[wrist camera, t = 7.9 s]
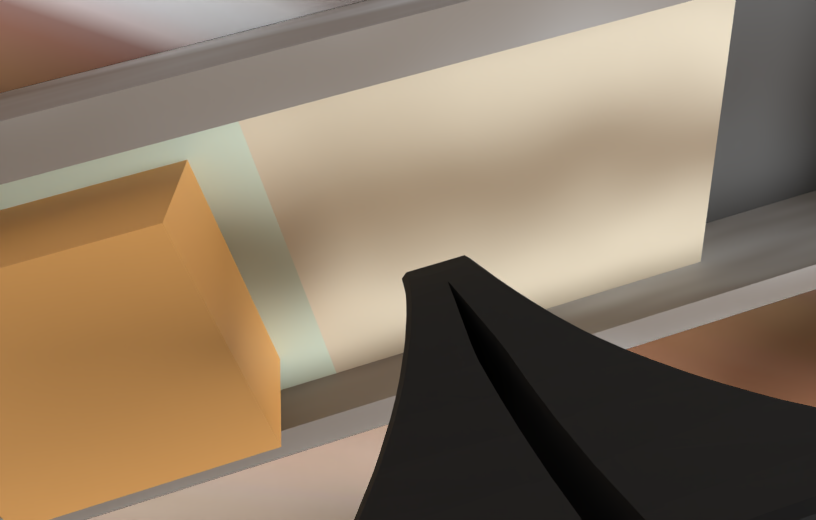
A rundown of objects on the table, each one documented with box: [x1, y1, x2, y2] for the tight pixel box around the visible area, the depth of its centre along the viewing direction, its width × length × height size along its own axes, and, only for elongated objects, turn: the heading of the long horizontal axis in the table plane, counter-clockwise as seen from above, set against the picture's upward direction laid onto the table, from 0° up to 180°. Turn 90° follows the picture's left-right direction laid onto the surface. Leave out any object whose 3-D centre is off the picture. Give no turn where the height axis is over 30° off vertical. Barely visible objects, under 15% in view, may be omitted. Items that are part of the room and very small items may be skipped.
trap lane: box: [0, 0, 816, 520], centre depth 13 cm, size 10×36×4 cm, turn 102°
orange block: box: [0, 160, 281, 520], centre depth 11 cm, size 6×6×3 cm
